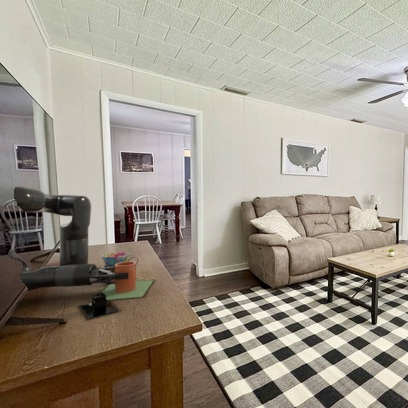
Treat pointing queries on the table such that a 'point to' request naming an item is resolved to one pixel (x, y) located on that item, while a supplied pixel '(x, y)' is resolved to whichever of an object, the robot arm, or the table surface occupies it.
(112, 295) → the placemat
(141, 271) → the table surface
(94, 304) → the black stand
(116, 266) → the pot
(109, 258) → the mug
